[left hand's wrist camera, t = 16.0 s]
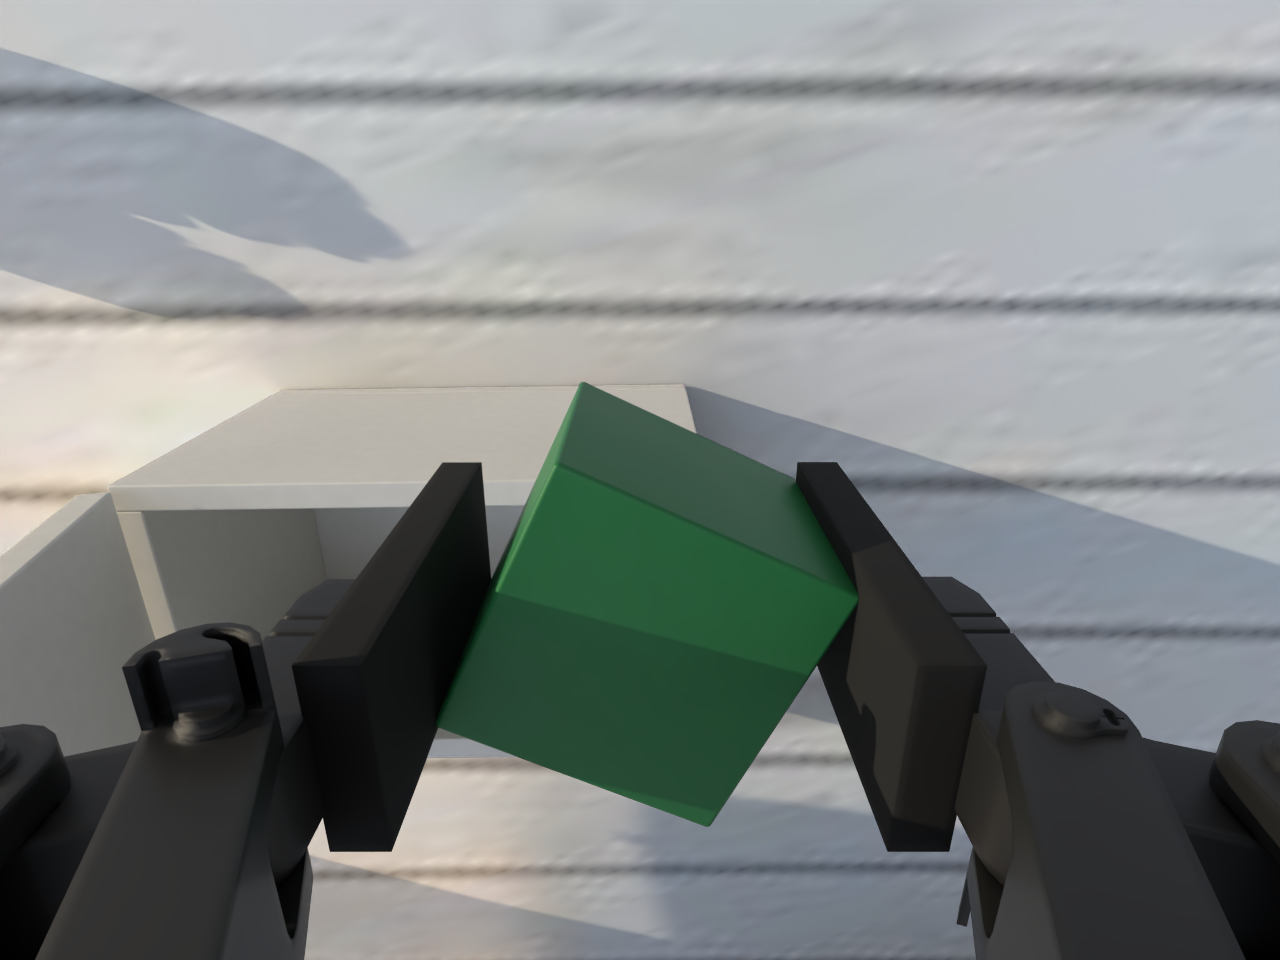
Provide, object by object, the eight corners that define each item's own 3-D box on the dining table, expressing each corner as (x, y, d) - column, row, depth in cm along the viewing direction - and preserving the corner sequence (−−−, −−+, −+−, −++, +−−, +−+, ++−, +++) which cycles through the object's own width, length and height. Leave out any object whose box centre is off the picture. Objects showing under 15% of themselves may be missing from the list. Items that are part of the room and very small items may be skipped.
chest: (685, 383, 31) (708, 477, 21) (683, 590, 35) (702, 755, 24) (280, 389, 31) (105, 486, 21) (321, 594, 35) (190, 761, 24)
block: (796, 478, 14) (864, 597, 10) (690, 658, 16) (710, 829, 12) (581, 379, 14) (554, 462, 9) (491, 577, 15) (432, 727, 11)
